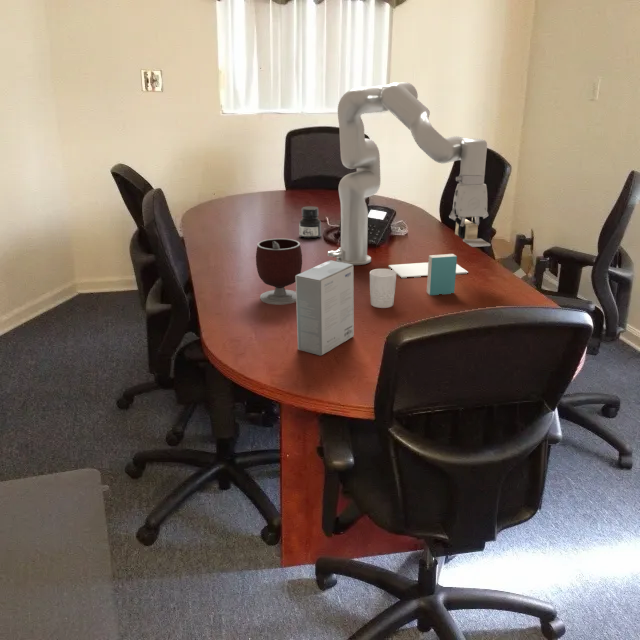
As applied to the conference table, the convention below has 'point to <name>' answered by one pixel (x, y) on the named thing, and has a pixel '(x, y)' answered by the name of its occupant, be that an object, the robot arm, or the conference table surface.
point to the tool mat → (417, 269)
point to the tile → (441, 274)
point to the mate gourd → (278, 268)
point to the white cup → (382, 287)
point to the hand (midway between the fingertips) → (467, 236)
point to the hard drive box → (325, 306)
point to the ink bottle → (310, 223)
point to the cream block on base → (471, 235)
